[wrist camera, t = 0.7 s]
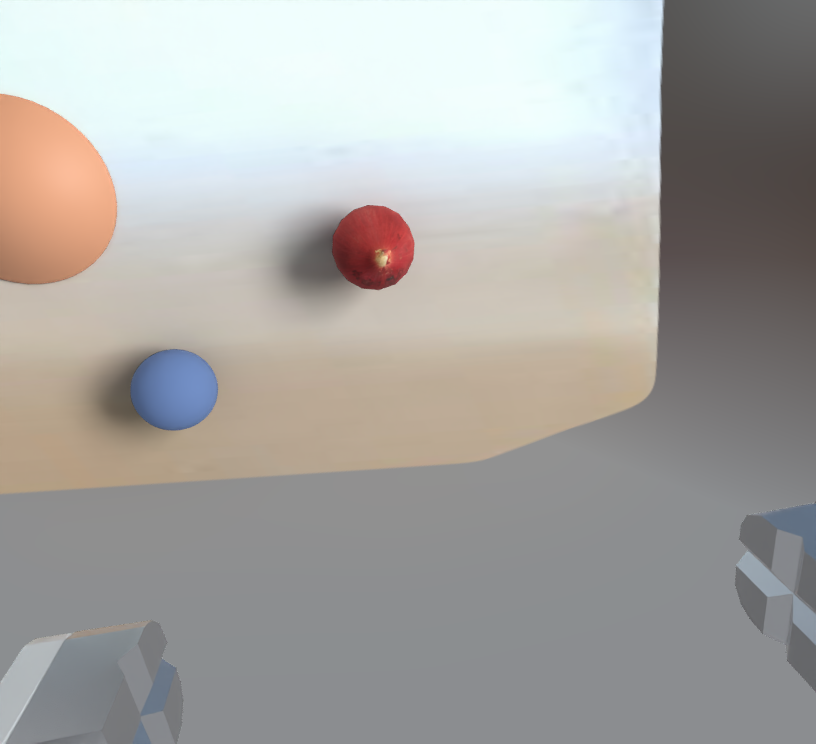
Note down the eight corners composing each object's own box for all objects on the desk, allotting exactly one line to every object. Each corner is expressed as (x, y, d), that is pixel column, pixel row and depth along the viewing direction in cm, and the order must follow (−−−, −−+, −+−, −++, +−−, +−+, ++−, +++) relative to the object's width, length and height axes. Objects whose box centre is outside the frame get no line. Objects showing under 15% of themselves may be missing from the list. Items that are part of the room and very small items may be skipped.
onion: (410, 261, 45) (437, 289, 38) (342, 285, 45) (356, 317, 38) (390, 188, 43) (414, 204, 36) (317, 213, 42) (327, 233, 35)
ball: (121, 365, 44) (101, 400, 38) (186, 323, 44) (175, 352, 38) (175, 420, 47) (163, 460, 41) (236, 380, 46) (232, 415, 41)
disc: (-142, 161, 35) (-144, 162, 35) (18, 52, 35) (16, 52, 35) (16, 314, 41) (15, 315, 40) (155, 222, 40) (154, 223, 40)
